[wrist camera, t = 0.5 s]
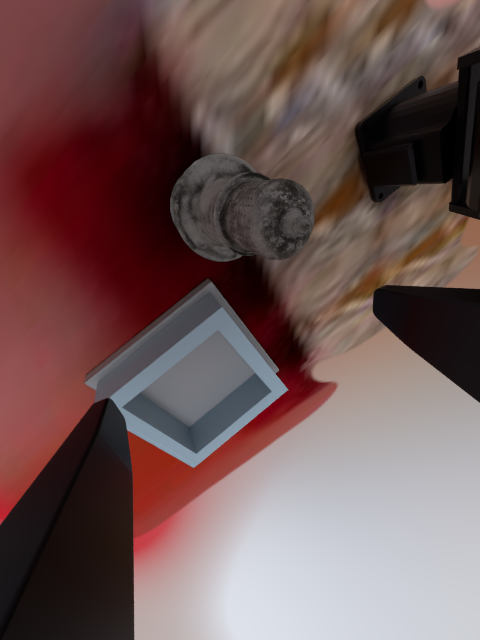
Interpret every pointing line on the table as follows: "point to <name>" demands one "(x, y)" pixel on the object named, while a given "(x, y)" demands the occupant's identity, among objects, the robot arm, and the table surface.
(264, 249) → the grey stone tall figure
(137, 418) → the holder
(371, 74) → the table surface
